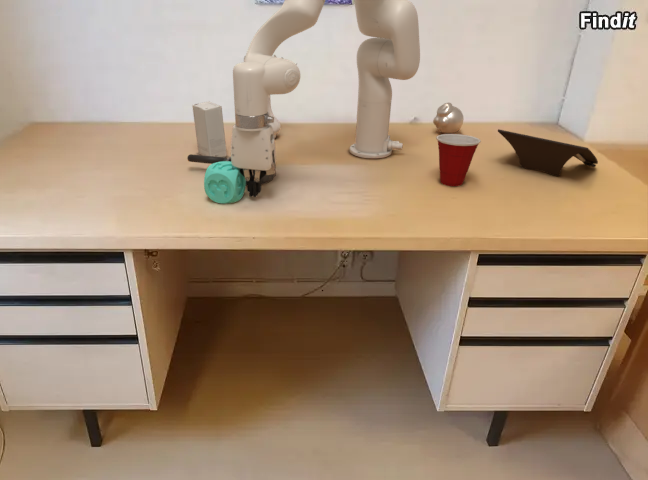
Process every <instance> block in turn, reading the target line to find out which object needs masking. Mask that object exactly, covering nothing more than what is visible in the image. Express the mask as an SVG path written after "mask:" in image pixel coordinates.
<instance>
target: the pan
mask: <svg viewBox="0 0 648 480" xmlns="http://www.w3.org/2000/svg"><path fill="white" fill-rule="evenodd" d="M226 161H230V162H231V156H228V157H227V160H226ZM274 166H275V170H276V171H275V173H274V174H271V175H265V176H264V177H263V178H262V179H261V185H264V184H267V183H271V182H272V181H273V180H274V179H275V178H276V176H277V162H276V163H275V164H274ZM252 170H253V169H252ZM253 176H254V177H255V170H253ZM246 186H247V181H246Z"/></svg>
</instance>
